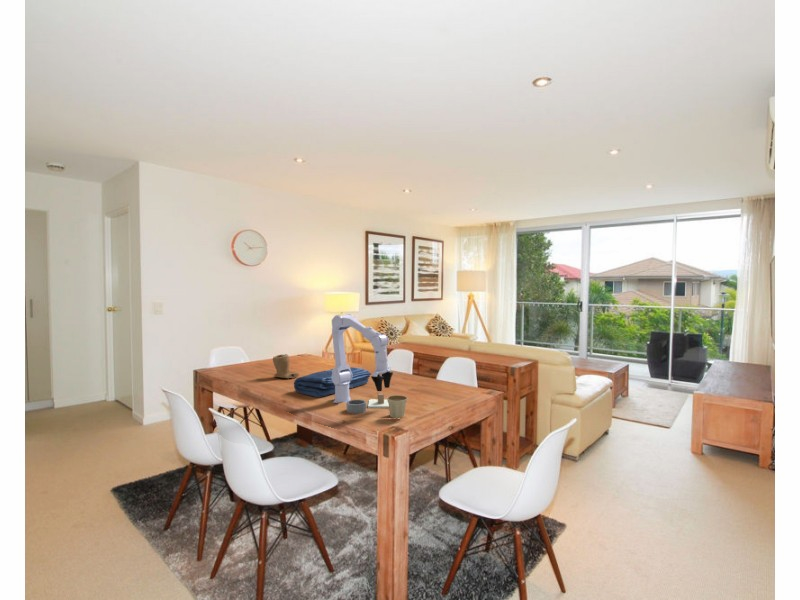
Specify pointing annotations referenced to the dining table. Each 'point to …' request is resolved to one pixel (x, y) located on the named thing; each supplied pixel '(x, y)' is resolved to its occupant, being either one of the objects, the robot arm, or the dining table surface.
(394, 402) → the flower pot
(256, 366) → the dining table surface
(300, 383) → the towel
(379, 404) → the lid
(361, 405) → the bowl
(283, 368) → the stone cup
